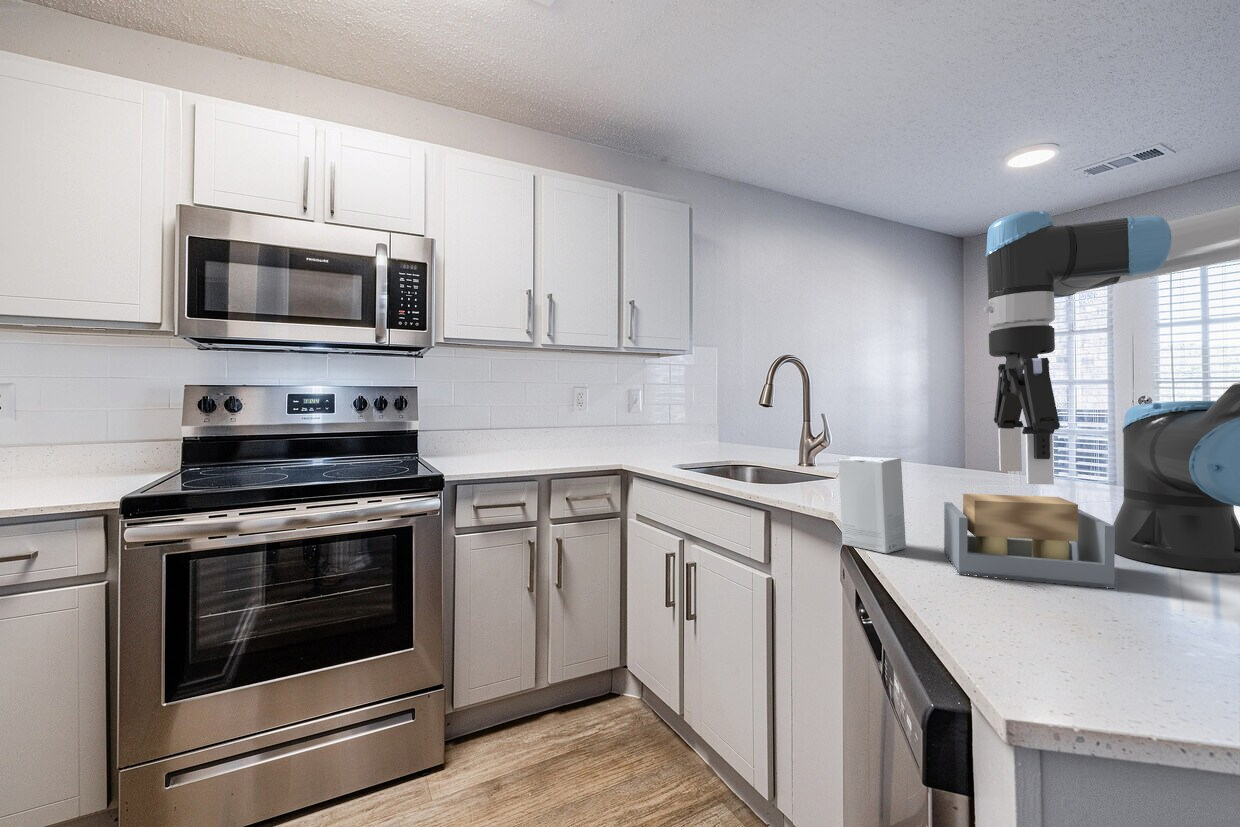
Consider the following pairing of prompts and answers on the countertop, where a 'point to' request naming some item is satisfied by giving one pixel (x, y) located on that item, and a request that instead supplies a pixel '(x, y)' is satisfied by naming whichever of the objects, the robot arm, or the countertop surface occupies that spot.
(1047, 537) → the wooden block
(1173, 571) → the countertop surface
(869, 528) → the skincare box
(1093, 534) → the peg frame
